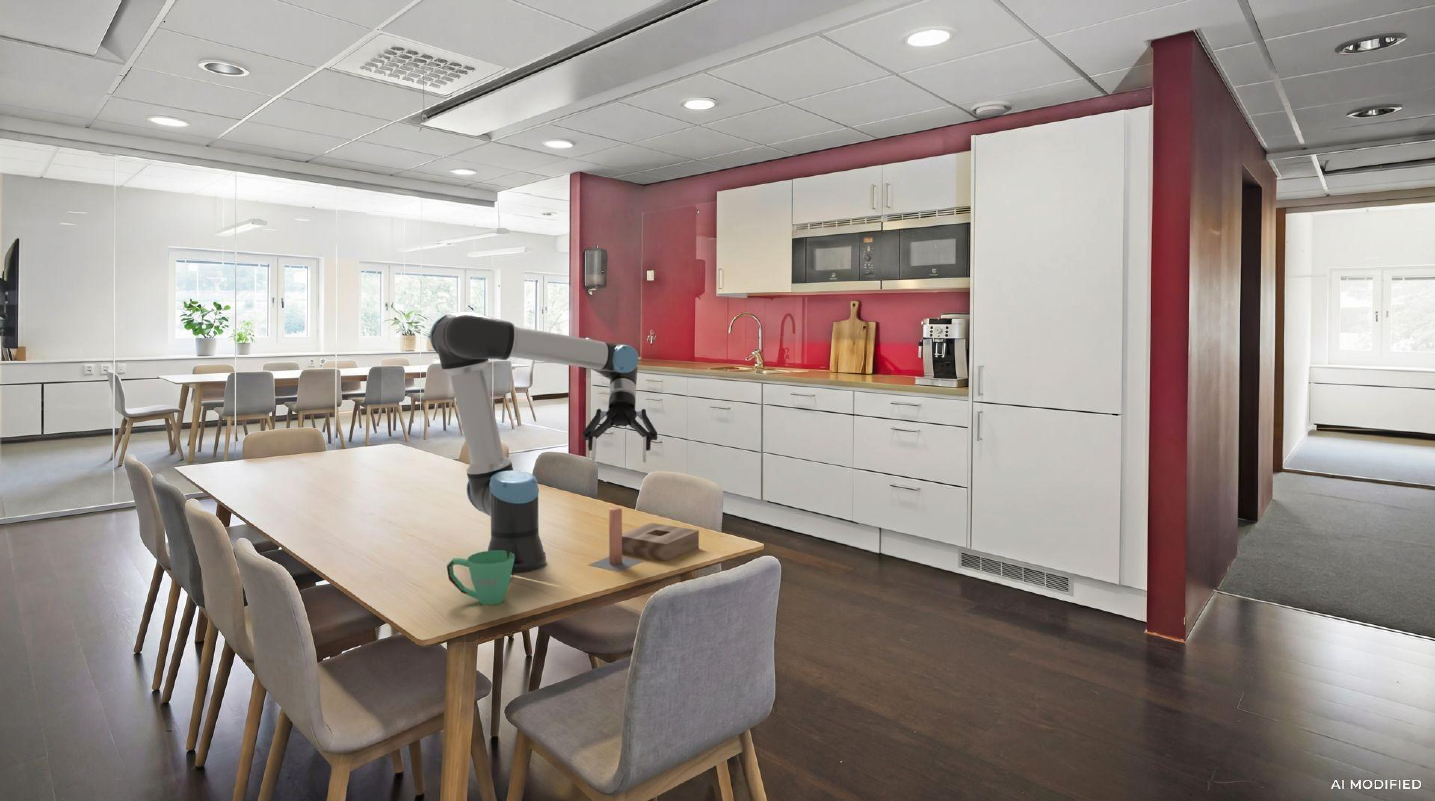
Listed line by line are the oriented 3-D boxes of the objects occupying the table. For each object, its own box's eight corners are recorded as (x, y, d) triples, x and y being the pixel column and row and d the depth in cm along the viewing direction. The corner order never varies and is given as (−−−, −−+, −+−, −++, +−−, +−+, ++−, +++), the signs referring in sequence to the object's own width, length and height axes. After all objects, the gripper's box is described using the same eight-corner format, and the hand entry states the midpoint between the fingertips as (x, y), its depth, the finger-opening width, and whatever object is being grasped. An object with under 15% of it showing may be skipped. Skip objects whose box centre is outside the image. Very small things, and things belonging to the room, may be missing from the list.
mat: (587, 566, 188) (587, 564, 188) (612, 556, 197) (612, 555, 197) (619, 573, 183) (619, 571, 183) (643, 563, 192) (643, 561, 192)
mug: (520, 593, 168) (519, 550, 167) (507, 609, 159) (506, 563, 158) (455, 593, 168) (454, 549, 168) (439, 608, 159) (438, 563, 158)
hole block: (616, 553, 200) (616, 535, 199) (651, 539, 214) (651, 522, 213) (665, 563, 192) (665, 544, 191) (698, 548, 205) (698, 530, 205)
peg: (606, 563, 189) (606, 509, 188) (614, 560, 192) (614, 507, 191) (616, 565, 188) (616, 511, 186) (624, 562, 190) (624, 508, 189)
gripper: (666, 406, 215) (665, 467, 202) (579, 406, 214) (573, 467, 200) (666, 389, 210) (665, 450, 196) (576, 389, 208) (569, 451, 195)
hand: (618, 459), depth 198 cm, fingers open, 13 cm apart
